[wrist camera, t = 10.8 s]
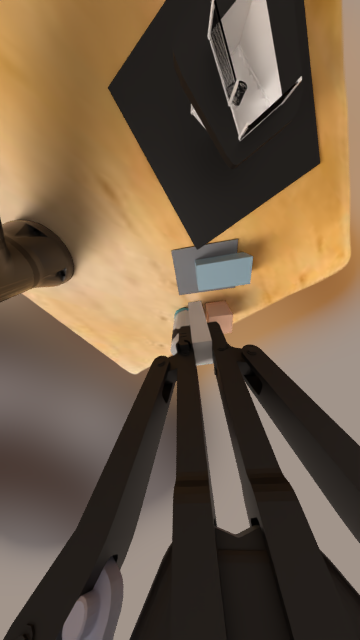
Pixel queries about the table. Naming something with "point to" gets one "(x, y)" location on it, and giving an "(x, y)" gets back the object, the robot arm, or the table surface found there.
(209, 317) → the terracotta block
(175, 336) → the white patterned canister
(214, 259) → the slate-blue block
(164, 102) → the black-topped pedestal
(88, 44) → the table surface
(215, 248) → the charcoal mat
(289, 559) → the robot arm
